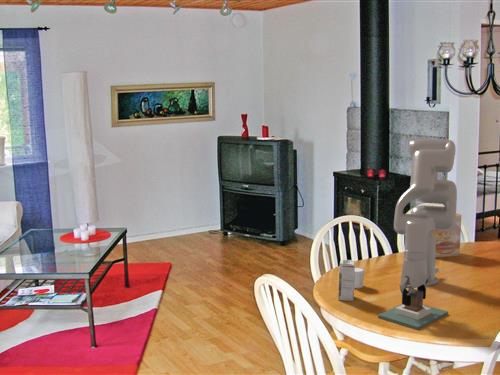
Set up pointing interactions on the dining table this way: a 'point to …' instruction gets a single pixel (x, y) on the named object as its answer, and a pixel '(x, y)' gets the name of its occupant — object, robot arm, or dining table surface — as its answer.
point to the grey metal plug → (416, 301)
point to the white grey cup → (359, 277)
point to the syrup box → (346, 280)
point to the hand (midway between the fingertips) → (413, 301)
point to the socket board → (413, 316)
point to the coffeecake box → (448, 240)
